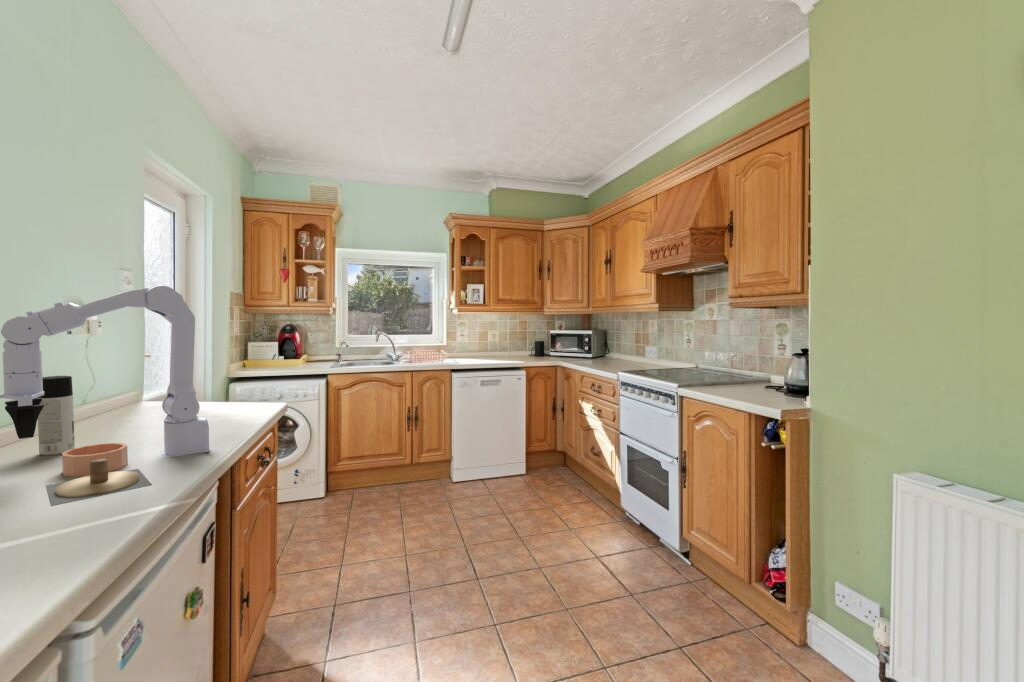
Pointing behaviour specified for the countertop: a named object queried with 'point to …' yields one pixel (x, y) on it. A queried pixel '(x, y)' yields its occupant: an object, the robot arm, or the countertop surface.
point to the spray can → (56, 416)
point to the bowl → (93, 458)
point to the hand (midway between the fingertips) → (25, 434)
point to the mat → (61, 500)
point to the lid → (97, 481)
